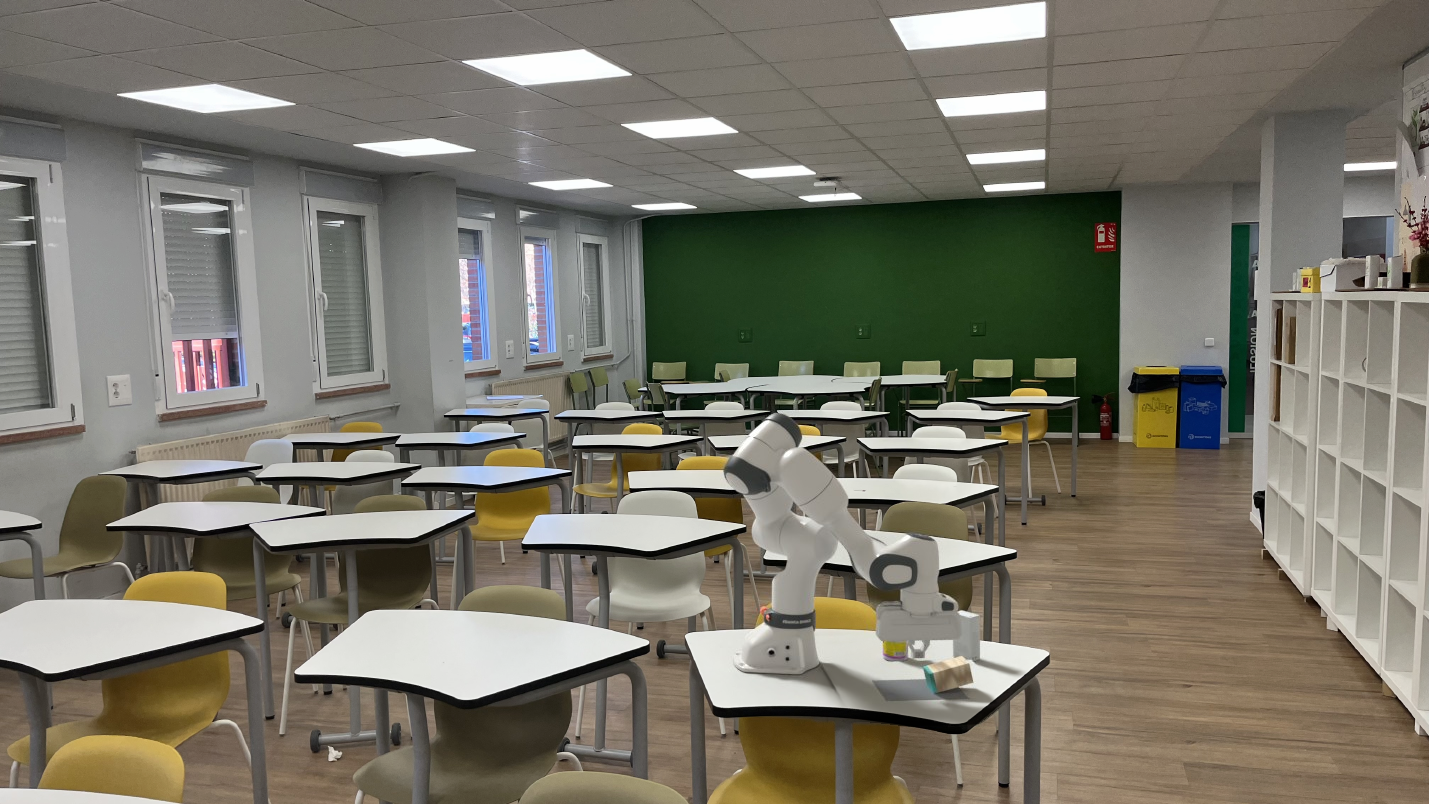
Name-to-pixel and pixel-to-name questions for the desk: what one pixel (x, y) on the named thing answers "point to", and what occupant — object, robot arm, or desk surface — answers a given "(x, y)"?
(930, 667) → the birch block
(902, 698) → the rubber mat
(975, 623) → the skincare box
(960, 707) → the desk surface
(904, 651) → the supplement bottle
